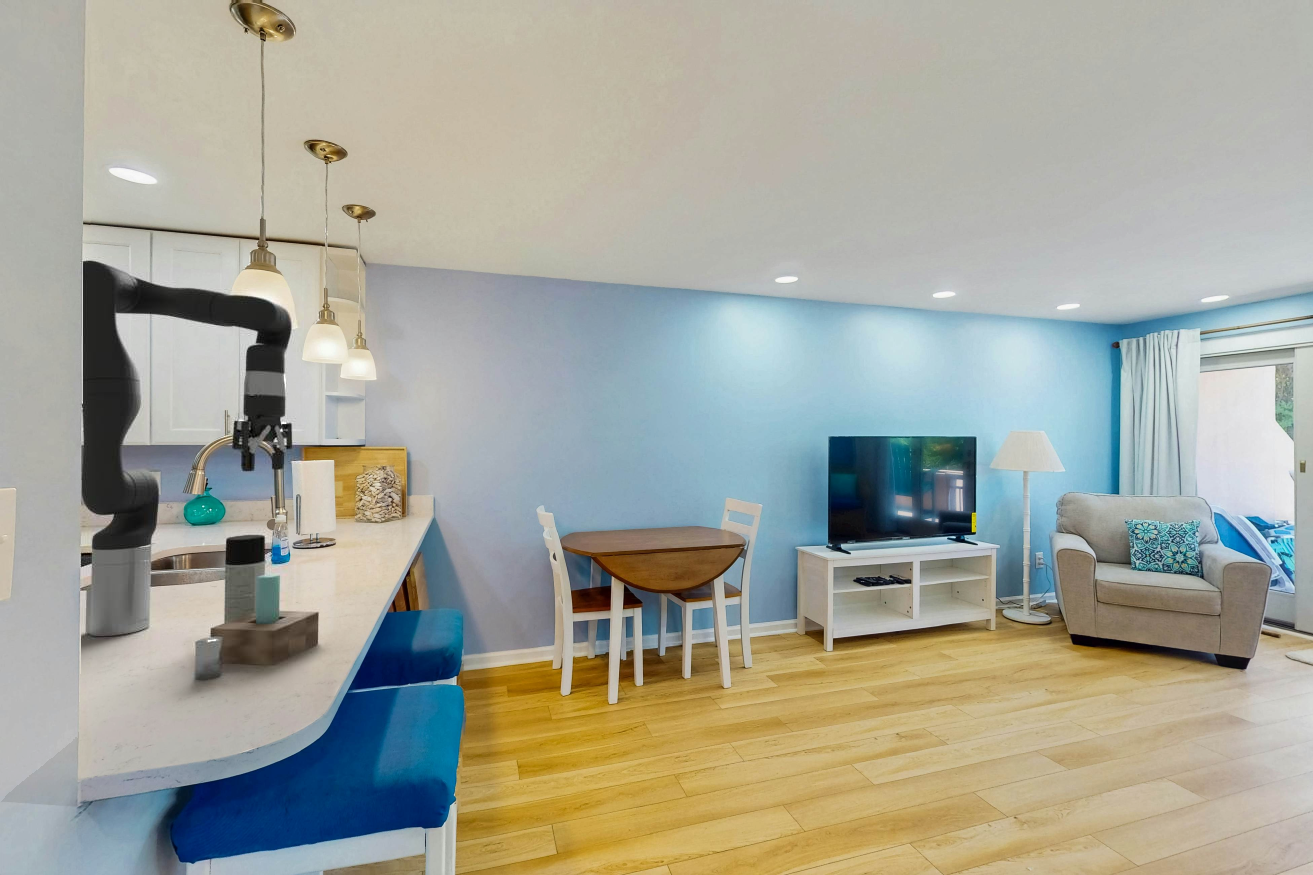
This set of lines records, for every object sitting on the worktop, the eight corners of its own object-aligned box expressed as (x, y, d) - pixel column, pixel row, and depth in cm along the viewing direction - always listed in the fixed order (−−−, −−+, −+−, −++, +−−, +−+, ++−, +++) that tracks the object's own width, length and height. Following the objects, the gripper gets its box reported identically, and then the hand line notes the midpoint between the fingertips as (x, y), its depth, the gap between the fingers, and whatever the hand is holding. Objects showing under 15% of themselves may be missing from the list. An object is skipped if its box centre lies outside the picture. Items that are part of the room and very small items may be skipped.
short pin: (189, 680, 99) (189, 643, 99) (207, 671, 103) (207, 636, 103) (209, 681, 99) (210, 644, 99) (227, 672, 102) (227, 637, 102)
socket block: (209, 662, 107) (210, 628, 107) (260, 640, 119) (260, 609, 119) (273, 665, 106) (274, 630, 106) (318, 642, 118) (318, 611, 118)
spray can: (272, 633, 124) (273, 535, 124) (239, 643, 117) (241, 539, 117) (248, 630, 126) (250, 533, 126) (215, 639, 119) (217, 538, 120)
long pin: (250, 654, 111) (252, 578, 111) (265, 648, 115) (266, 574, 115) (269, 655, 111) (270, 578, 111) (283, 649, 114) (284, 574, 114)
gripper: (272, 397, 137) (270, 468, 136) (221, 391, 122) (219, 471, 122) (303, 397, 136) (302, 469, 136) (256, 391, 122) (254, 472, 122)
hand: (263, 470), depth 129 cm, fingers open, 8 cm apart
